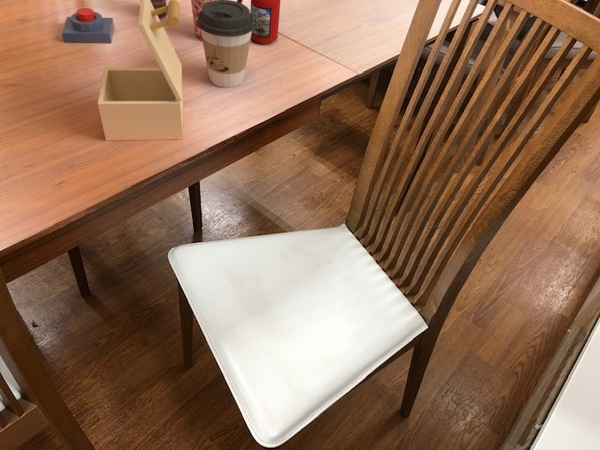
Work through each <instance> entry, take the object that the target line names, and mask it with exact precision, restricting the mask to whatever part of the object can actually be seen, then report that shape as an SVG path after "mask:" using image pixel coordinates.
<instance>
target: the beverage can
mask: <svg viewBox="0 0 600 450" xmlns="http://www.w3.org/2000/svg"><path fill="white" fill-rule="evenodd" d="M280 10H281V0H250V13H251V15H252V16H253V17H254V23H255V27H254V29H253V30H252V32H251V38H250V39H252V40H253V41H254V42H256V43H258V44H260V45H269V44H272V43H274V42H276V41H277V40H278V38H279V28H280V27H279V26H280V14H281V12H280Z"/></svg>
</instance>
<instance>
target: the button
mask: <svg viewBox="0 0 600 450" xmlns="http://www.w3.org/2000/svg"><path fill="white" fill-rule="evenodd" d="M94 12H95V11H94V9H92V8H90V7H81V8H78V9H76V11H75V13H77V17H78V20H79V21H82V22H89V21H93V20H94V19H95V16H94Z"/></svg>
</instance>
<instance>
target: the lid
mask: <svg viewBox="0 0 600 450" xmlns="http://www.w3.org/2000/svg"><path fill="white" fill-rule="evenodd" d="M139 2H140V1H139ZM164 12H167V19H163V20H160V19H159V18H158V15H159V14H161V13H164ZM179 25H180V2H179V1H178V0H169V1H168V3H167V4H166V6H164V7H161V8H158V9H154V7H153V5H152V3H151V1H150V0H141V2H140V3H139V11H138V21H137V27H138V29H139V31H140V32H141V34H142V36H143V38H144V40H145V42H146V44H147V46H148V47H149V50H150V52H151V53H152V55H153V57H154V59H155V61H156V63H157V65H158V68H160V69H161V70H162V72H163V74H164V76H165V78H166V80H167V82H168V84H169V86H170V88H171V89H172V91H173V93H174V95H175V97H176V99H177V101H181V100H182V97H183V77H182V76H183V65H182V62H181V61H180V59H179V56H178V54H177V52H176V51H175V48H174V46H173V45H172V42H171V41H170V38H169V36H168V34H167V32H166V30H165V28H164V27H167V26H170V27H172V28H176V27H178V26H179Z"/></svg>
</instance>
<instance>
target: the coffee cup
mask: <svg viewBox="0 0 600 450" xmlns="http://www.w3.org/2000/svg"><path fill="white" fill-rule="evenodd" d="M250 11H251V9H249V7H248V6H247V5H246V4H243V2H242V3H239V2H237V0H236V1H235V0H216V1H212V2H209V3H207V4H205V5H204V6H203V7H202V11H201V12H200V13H199V14H198V19H197V25H198V26H199V28H200V29H201V34H202V40H203V41H202V40H201V41H202V45H203V52H204V57H205V61H206V68H207V74H208V77H209V80H210V82H211V84H213V85H214V86H217V87H219V88H223V89H231V88H236V87H238V86H240V85H241V84H242V83H243V82H244V79H245V76H246V69H247V63H248V57H249V56H248V55H249V51H250V43H251V39H252V38H251V32H252V30H253V29H254V27H255V23H254V17H253V16H252V15H251V13H250Z"/></svg>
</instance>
